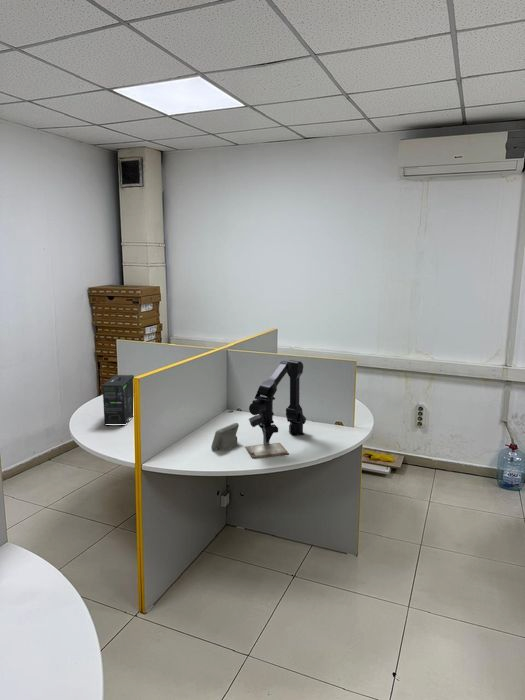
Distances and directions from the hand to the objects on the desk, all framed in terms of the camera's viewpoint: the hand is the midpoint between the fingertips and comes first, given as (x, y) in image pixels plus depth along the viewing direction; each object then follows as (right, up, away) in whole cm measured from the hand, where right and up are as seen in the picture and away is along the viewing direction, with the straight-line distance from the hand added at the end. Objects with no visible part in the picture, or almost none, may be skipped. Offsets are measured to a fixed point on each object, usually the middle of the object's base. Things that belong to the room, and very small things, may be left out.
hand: (266, 440), depth 235 cm
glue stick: (0, -2, 0) cm, 2 cm away
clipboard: (0, -4, -2) cm, 5 cm away
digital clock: (-20, -4, +4) cm, 21 cm away
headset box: (-84, +4, +43) cm, 94 cm away
